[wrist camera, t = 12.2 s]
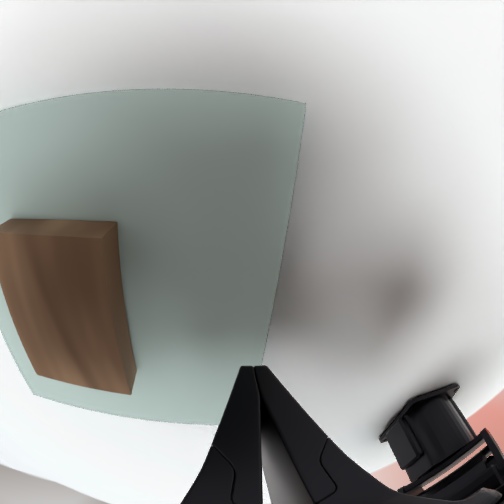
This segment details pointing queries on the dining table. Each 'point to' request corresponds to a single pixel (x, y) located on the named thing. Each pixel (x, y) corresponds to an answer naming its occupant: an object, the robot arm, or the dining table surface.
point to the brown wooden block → (68, 300)
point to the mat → (164, 229)
